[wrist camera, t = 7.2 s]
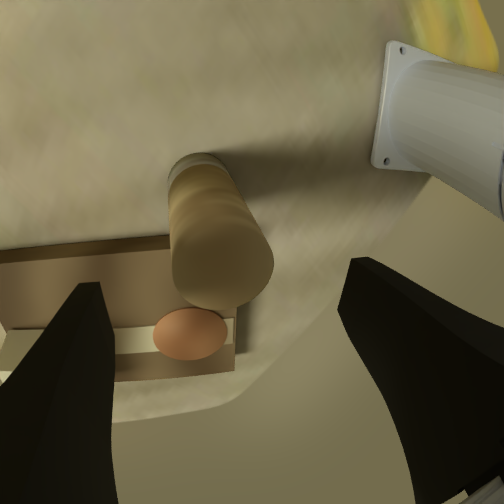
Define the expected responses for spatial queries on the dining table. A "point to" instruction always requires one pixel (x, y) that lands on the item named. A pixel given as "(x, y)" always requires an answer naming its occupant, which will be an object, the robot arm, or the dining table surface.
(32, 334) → the block
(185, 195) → the brown upright cylinder
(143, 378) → the board
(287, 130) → the dining table surface
